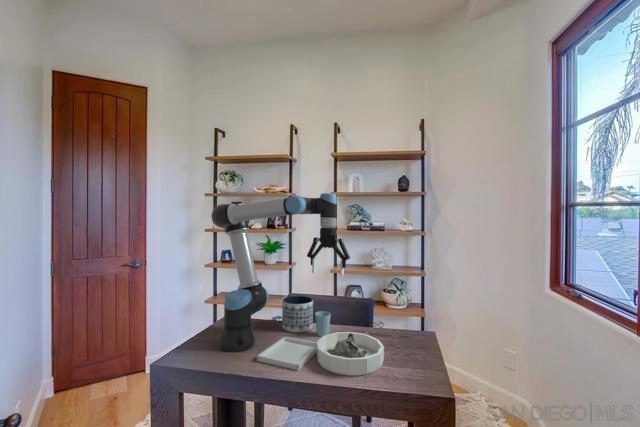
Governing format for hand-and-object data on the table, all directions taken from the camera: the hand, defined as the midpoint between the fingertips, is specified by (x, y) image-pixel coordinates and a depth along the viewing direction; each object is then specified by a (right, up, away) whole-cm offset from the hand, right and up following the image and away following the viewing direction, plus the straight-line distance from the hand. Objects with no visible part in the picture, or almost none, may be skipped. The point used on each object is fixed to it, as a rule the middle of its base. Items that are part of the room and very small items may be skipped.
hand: (327, 274), depth 141 cm
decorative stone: (+7, -31, -16) cm, 35 cm away
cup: (-2, -32, +10) cm, 34 cm away
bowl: (+9, -32, -15) cm, 36 cm away
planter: (-15, -32, +20) cm, 41 cm away
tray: (-16, -32, -11) cm, 37 cm away
